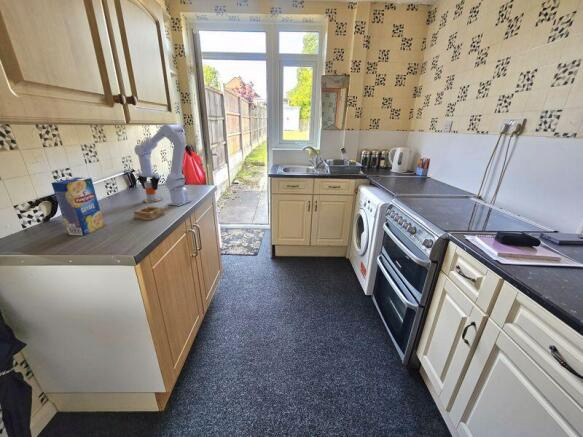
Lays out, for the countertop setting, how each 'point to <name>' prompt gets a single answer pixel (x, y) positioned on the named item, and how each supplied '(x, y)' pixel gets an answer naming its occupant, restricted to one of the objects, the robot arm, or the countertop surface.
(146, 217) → the holder
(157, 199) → the coaster
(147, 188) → the can
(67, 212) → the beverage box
